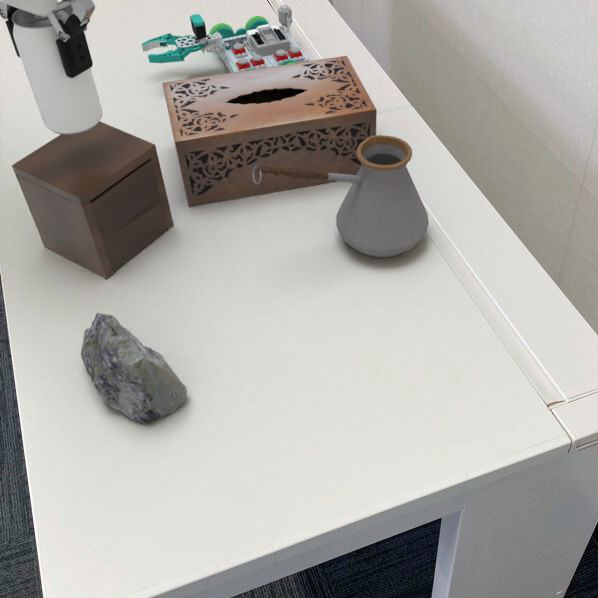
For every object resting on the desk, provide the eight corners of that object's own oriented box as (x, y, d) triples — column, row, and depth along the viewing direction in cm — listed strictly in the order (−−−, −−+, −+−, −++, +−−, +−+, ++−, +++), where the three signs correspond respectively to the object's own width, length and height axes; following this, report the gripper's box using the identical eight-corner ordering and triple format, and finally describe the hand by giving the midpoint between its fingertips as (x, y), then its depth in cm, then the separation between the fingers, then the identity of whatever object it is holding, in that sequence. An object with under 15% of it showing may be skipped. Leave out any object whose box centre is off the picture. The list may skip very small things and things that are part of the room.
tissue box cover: (347, 118, 116) (346, 55, 108) (375, 174, 106) (376, 109, 99) (175, 146, 111) (162, 82, 104) (188, 207, 102) (175, 142, 94)
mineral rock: (86, 344, 86) (60, 278, 79) (183, 329, 88) (166, 263, 80) (84, 437, 78) (54, 374, 70) (191, 419, 79) (173, 355, 72)
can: (38, 113, 87) (1, 7, 78) (95, 98, 89) (65, -6, 80) (51, 142, 83) (14, 35, 74) (110, 126, 85) (81, 20, 76)
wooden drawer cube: (44, 246, 97) (11, 165, 88) (112, 196, 104) (88, 116, 94) (106, 279, 93) (79, 198, 84) (174, 225, 100) (155, 144, 90)
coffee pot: (403, 200, 103) (408, 98, 91) (442, 253, 96) (454, 150, 84) (250, 241, 97) (236, 139, 86) (280, 301, 90) (269, 198, 79)
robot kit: (140, 63, 127) (128, 6, 120) (283, 33, 133) (279, -23, 126) (168, 120, 116) (156, 62, 109) (323, 85, 122) (321, 27, 115)
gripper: (-105, -137, 68) (-28, 55, 82) (29, -98, 62) (88, 102, 75) (-35, -160, 72) (27, 26, 86) (97, -126, 66) (141, 69, 79)
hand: (55, 60), depth 80 cm, fingers closed on can, 6 cm apart
